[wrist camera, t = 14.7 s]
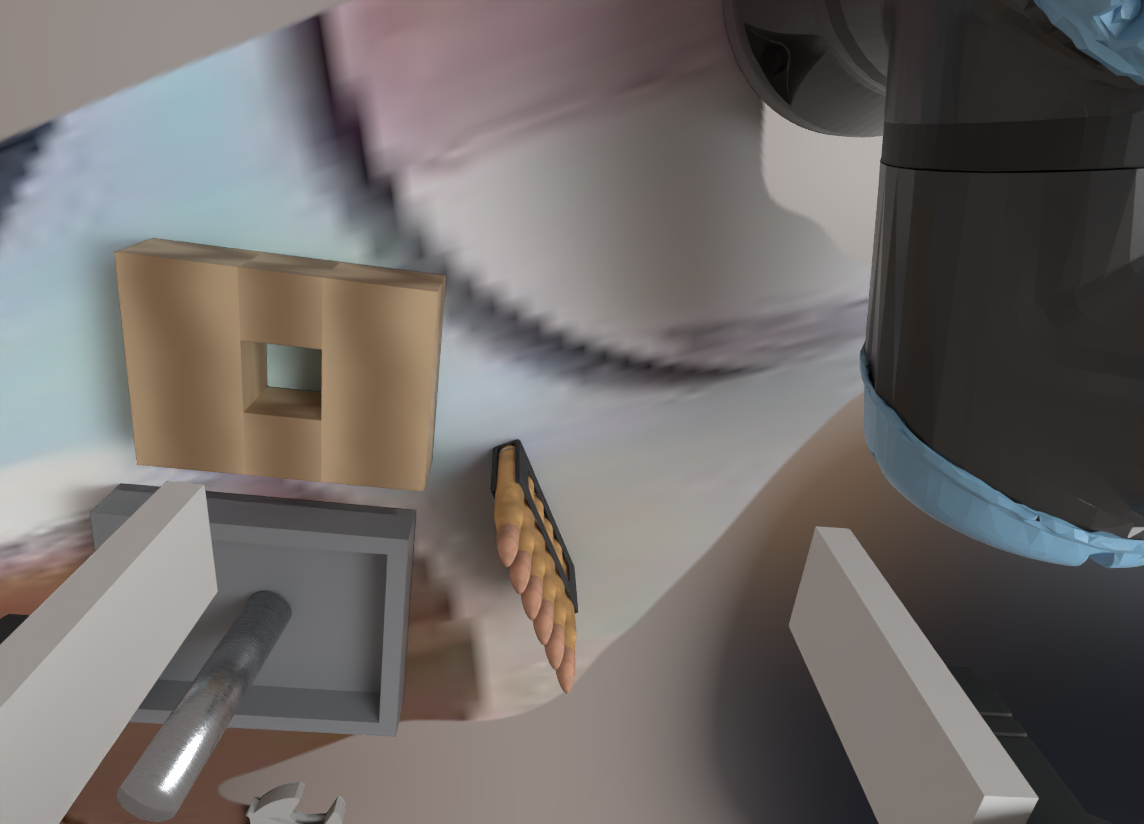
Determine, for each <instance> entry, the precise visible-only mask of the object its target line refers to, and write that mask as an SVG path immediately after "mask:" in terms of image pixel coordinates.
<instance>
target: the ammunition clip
mask: <svg viewBox="0 0 1144 824" xmlns="http://www.w3.org/2000/svg"><path fill="white" fill-rule="evenodd" d="M491 492H492V494H493V497H494V499H495V508H494V522H495V525H496V536H497V551H498V555H499V558H500V560H501V562H502V564H503V565H504V566H505V567H509V573H510V579H511V582H512V585H513V587H514V589H515V591H516V592H517V593H518V594H521V598H522V604H523V607H524V610H525V612H526V614H527V616H528V618H529V619H530V620H533V625H534V629H535V633H536V635H537V638H538V640H539V641H540V643H541V644H542V645H544V647H545V652H546V655H547V658H548V660H549V663H550V665H551V666H552V667H553V669H555V670H556V675H557V678H558V681H559V683H560V686H561V688H562V689H563V691H564V692H565V693H569V692H570V690H571V688H572V685H573V681H574V676H575V643H576V623H575V613H578V604H577V592H576V581H575V569H574V565H573V562H572V560H571V558H570V555H569V553H568V551H567V548H566V546H565V544H564V541H563V539H562V537H561V534H560V532H559V530H558V527H557V525H556V523H555V520H554V518H553V516H552V513H551V511H550V509H549V506H548V504H547V502H546V499H545V497H544V495H543V492H542V490H541V488H540V485H539V483H538V481H537V478H536V476H535V473H534V471H533V469H532V466H531V464H530V462H529V459H528V457H527V455H526V452H525V450H524V448H523V445H522V443H521V441H520V440H515V441H512V442H510V443H507V444H504V445H501V446H498V447H495V448H493V461H492V477H491Z"/></svg>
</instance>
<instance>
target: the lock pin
mask: <svg viewBox="0 0 1144 824" xmlns="http://www.w3.org/2000/svg"><path fill="white" fill-rule="evenodd" d="M291 616H292V610H291V607H290V605H289V603H288V602H287V601H286V600H285V599H284V598H282V597H281V596H279V595H277V594H275V593H271V592H259V593H256V594H254V595H253V596H251V597H250V599H249V600H248V602H247V603H246V605H245V606H244V608H243V609H242V611H241V612H240V613H239V615H238V616H237V618H236V619H235V621H234V622H233V624H232V625H231V627H230V628H229V629H228V631H227V632H226V634H225V635H224V637H223V638H222V640H221V641H220V643H219V644H218V645H217V647H216V648H215V650H214V651H213V653H212V654H211V656H210V657H209V659H208V660H207V661H206V663H205V664H204V666H203V667H202V669H201V670H200V672H199V673H198V675H197V676H196V677H195V679H194V680H193V682H192V683H191V685H190V686H189V688H188V689H187V691H186V692H185V694H184V695H183V696H182V698H181V699H180V701H179V702H178V704H177V705H176V707H175V708H174V710H173V711H172V712H171V714H170V715H169V717H168V718H167V720H166V721H165V723H164V724H163V726H162V727H161V728H160V730H159V731H158V733H157V734H156V736H155V737H154V739H153V740H152V742H151V743H150V744H149V746H148V747H147V749H146V750H145V752H144V753H143V755H142V756H141V758H140V759H139V761H138V762H137V763H136V765H135V766H134V768H133V769H132V771H131V772H130V774H129V775H128V777H127V778H126V779H125V781H124V782H123V784H122V785H121V787H120V788H119V790H118V792H117V799H118V801H119V803H120V805H121V806H122V807H123V808H124V809H125V810H126V811H127V812H129V813H130V814H132V815H134V816H136V817H138V818H141V819H144V820H148V821H155V822H159V821H166V820H169V819H171V818H172V817H174V816H175V814H176V813H177V811H178V809H179V808H180V806H181V804H182V802H183V801H184V799H185V797H186V796H187V794H188V792H189V791H190V789H191V787H192V785H193V784H194V782H195V780H196V779H197V777H198V775H199V774H200V772H201V770H202V768H203V767H204V765H205V763H206V762H207V760H208V758H209V757H210V755H211V753H212V751H213V750H214V748H215V746H216V745H217V743H218V741H219V740H220V738H221V736H222V734H223V733H224V731H225V729H226V728H227V726H228V724H229V722H230V721H231V719H232V717H233V716H234V714H235V712H236V711H237V709H238V707H239V705H240V704H241V702H242V700H243V699H244V697H245V695H246V694H247V692H248V690H249V688H250V687H251V685H252V683H253V682H254V680H255V678H256V677H257V675H258V673H259V671H260V670H261V668H262V666H263V665H264V663H265V661H266V660H267V658H268V656H269V654H270V653H271V651H272V649H273V648H274V646H275V644H276V643H277V641H278V639H279V637H280V636H281V634H282V632H283V631H284V629H285V627H286V626H287V624H288V622H289V620H290V619H291Z"/></svg>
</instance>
